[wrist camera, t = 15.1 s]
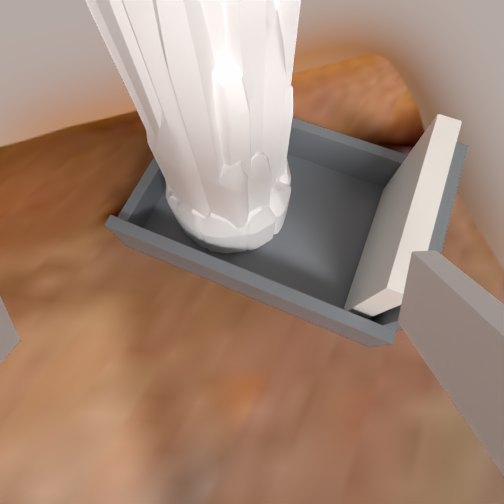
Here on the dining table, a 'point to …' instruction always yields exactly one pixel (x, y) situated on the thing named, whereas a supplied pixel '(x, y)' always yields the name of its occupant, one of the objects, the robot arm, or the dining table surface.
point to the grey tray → (296, 232)
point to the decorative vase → (212, 107)
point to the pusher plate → (403, 221)
